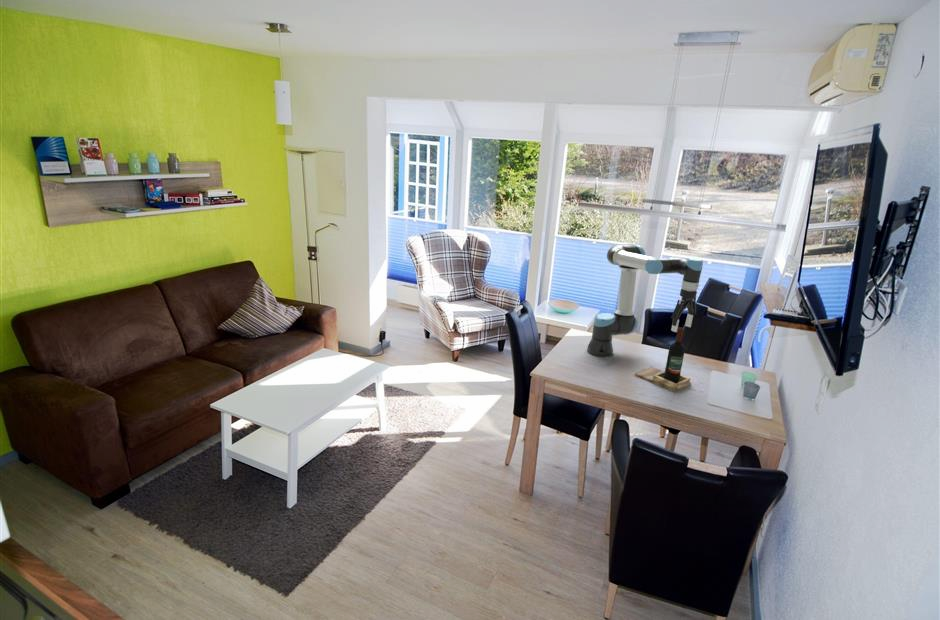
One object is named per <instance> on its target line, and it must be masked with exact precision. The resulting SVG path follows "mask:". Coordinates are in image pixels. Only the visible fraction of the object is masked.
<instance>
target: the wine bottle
mask: <svg viewBox="0 0 940 620" xmlns="http://www.w3.org/2000/svg"><path fill="white" fill-rule="evenodd" d="M684 330H685V329H684V327H679V326H678V328H677V332H676V337H675V342H673V343H671V344H670V345H669V348H668V352H667V358H666V363H665V368H664V369H665V374H664V379H666V380H669V381H671V382H674V383H678V382H679V378H680V374H681V372H682V368H683V362H684V357H685V356H684V355H685V353H686V347H685V345H684V344H682V340H683V334H684Z"/></svg>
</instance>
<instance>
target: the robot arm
mask: <svg viewBox="0 0 940 620" xmlns="http://www.w3.org/2000/svg"><path fill="white" fill-rule="evenodd" d="M606 258H607V261H608V263H610V264H611V265H614V266H618V268H619V269H620V270H621V272H620V278H619V279H620V280H619V287H618V288H619V291H618V299H617V307H616V308H617V309H616V310H614V312H613V313H610V312H608V313H606V312H602V313H598V314H596V315H595V317H594V321H593V328H592V334H591V339H590V341H589V343H588V345H587V347H586V348H587V349H586V350H587V352H588V353H589V354H591V355H592V356H597V357H601V358H607V357H611V356H613V354H614V348H613V342H612V341H613V337H614V336H622V335H630V334H633V333H634V332H636V330H637V328H638V323H639V321H638V318H637V316H636V315H635V312H634V311H633V305H634V297H635V288H636V280H637V272H638V271H639V270H642V271H646V272H647V274H649V275H659V274H660V275H662V274H663V275H664V274H680V275H681V276H683V278H682V282H681V289H680V292H679V296H680V297H681V299H677V302H676V305H675V308H674V310H673V312H672V315H671V316H670V319H672V324H671V329H670V330H671V331H672V332H674V333H677V330H678V327H679V323H680V317H681V315H683V312H684V311H685V310H687V311H688V313H687V316H686V319H685V324H684V326H685V327H688V328H691V327H692V324H693V318H694V316H696V313H697V293H698V291H697V290H698V288H699V286H700V285H699V284H700V279H701V275H702V271H703V267H704V266H703V265H704V262H703V260H702V259H700V258H696V257H689V258H686V259H684V258H681V257H679V256H671V257H668V258H659V257H654V256H649V255H646V252H645V250H644V247H642V246H641V245H639V244H632V243H631V244H615V245H612V246H611V247H610V248H609V249H608V250H607V253H606Z"/></svg>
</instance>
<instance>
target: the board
mask: <svg viewBox="0 0 940 620" xmlns="http://www.w3.org/2000/svg"><path fill="white" fill-rule="evenodd" d="M664 374H665V370H661V369H658V368H656V367H653V366H649V367H646V368H643V369H641V370H639V371H638V370H637V371H636V372H635V373H634V376H636V377H638V378H641V379H642V380H645V381H648V382H650V383H652V384H655V385H657V386H659V387H661V388H664V389H666V390H669V391H671V392H673V393H676V392H677V393H678V392H679V391H680V390H681V391H682V390H683V389H685V388H687V387H689V386H691V385H692V382H691V378H690V377H688V376H685V375H683V374H681V373H680V378H679V382H678V383H674V382H671V381H669V380H666V379H664Z"/></svg>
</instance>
